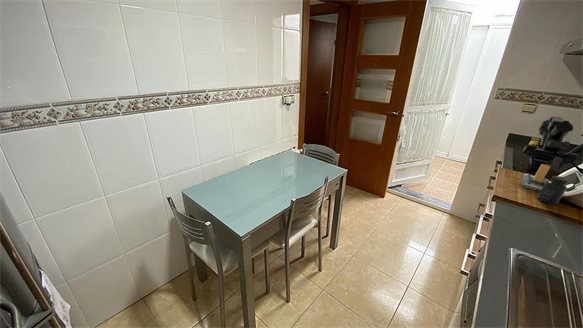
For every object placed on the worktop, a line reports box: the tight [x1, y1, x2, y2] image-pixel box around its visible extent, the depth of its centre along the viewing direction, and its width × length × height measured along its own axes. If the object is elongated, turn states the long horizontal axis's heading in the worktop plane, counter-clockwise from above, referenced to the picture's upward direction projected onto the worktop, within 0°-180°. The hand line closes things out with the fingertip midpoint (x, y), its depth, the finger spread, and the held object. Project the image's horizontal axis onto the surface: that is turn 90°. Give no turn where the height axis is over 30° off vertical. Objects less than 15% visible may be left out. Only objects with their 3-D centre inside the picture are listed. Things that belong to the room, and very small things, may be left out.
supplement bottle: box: [537, 175, 569, 205], centre depth 106 cm, size 7×7×12 cm
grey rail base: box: [521, 173, 550, 192], centre depth 121 cm, size 16×10×3 cm, turn 138°
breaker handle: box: [531, 164, 551, 185], centre depth 119 cm, size 4×4×9 cm
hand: (543, 167), depth 118 cm, fingers open, 9 cm apart
